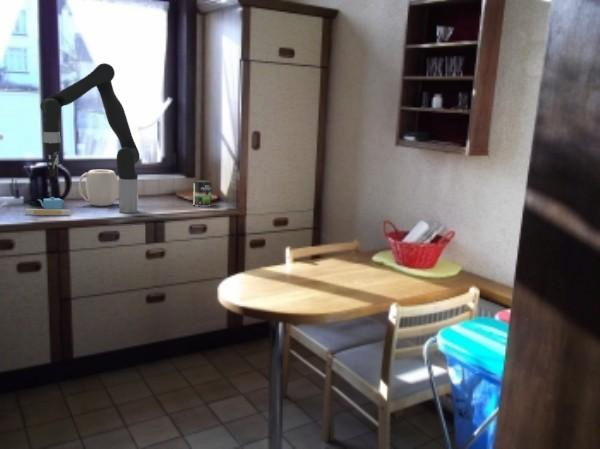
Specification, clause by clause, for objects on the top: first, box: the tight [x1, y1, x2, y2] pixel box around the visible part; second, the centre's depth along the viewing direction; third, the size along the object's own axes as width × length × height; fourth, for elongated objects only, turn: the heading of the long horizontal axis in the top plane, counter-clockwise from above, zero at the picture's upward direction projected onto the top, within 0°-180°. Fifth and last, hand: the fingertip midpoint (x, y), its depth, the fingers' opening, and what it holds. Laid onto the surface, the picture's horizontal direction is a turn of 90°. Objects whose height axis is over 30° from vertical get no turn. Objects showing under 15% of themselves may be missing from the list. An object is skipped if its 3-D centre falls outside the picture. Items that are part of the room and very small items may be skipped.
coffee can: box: [192, 179, 213, 208], centre depth 322 cm, size 10×10×14 cm
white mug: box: [77, 168, 119, 207], centre depth 308 cm, size 16×27×19 cm, turn 126°
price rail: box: [24, 208, 71, 216], centre depth 269 cm, size 20×2×2 cm, turn 100°
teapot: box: [38, 196, 65, 210], centre depth 274 cm, size 12×6×8 cm, turn 124°
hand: (53, 175), depth 273 cm, fingers open, 8 cm apart
